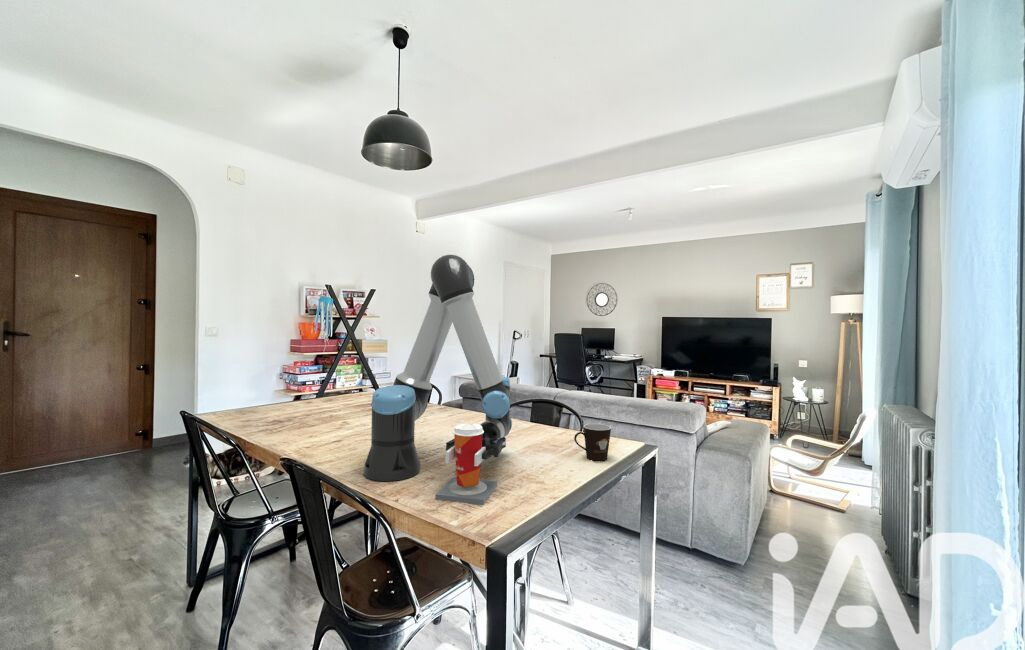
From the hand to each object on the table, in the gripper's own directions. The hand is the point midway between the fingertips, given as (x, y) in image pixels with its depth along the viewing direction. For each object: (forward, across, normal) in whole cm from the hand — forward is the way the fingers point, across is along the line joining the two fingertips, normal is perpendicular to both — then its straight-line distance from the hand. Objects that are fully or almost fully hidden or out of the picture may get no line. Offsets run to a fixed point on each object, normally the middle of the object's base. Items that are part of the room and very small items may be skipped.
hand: (461, 459), depth 98 cm
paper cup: (-5, 0, -8) cm, 9 cm away
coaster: (-5, 0, -10) cm, 11 cm away
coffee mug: (-41, -29, -10) cm, 51 cm away
